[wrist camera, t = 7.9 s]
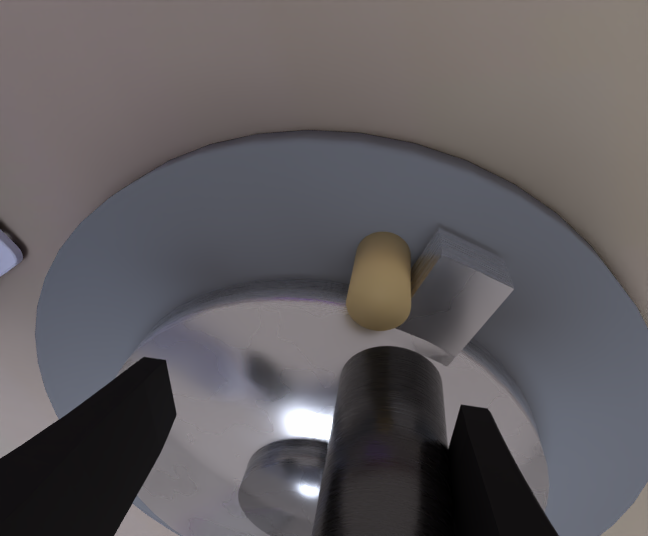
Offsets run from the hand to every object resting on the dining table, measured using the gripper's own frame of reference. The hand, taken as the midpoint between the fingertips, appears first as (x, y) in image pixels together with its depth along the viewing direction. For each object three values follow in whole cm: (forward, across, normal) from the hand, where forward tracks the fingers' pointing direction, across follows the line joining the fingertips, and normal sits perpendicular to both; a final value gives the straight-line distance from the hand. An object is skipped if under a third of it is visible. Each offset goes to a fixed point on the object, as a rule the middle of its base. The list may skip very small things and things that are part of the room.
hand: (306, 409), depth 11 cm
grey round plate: (+6, 0, +6) cm, 8 cm away
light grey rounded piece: (+4, 0, +5) cm, 6 cm away
